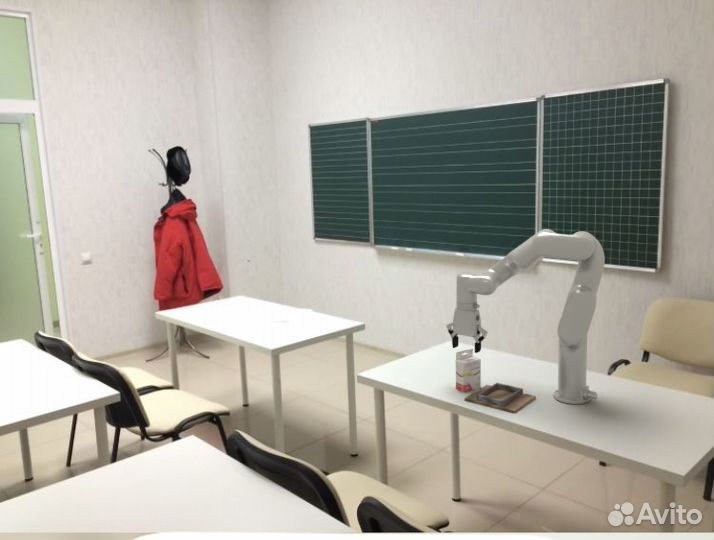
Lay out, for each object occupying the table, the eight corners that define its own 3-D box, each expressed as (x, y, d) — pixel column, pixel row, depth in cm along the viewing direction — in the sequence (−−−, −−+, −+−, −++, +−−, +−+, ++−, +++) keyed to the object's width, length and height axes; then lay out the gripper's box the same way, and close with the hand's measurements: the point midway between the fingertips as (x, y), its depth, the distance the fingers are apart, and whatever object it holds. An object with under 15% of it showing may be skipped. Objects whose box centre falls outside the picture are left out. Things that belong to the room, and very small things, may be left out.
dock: (535, 398, 221) (535, 390, 220) (514, 413, 209) (514, 405, 209) (486, 387, 234) (486, 379, 234) (464, 400, 222) (464, 392, 222)
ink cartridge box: (464, 393, 230) (463, 355, 227) (455, 389, 234) (454, 352, 231) (481, 387, 234) (481, 350, 231) (472, 384, 238) (472, 347, 235)
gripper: (492, 307, 225) (491, 351, 228) (452, 300, 236) (452, 343, 240) (481, 311, 220) (481, 356, 223) (441, 304, 231) (441, 347, 234)
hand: (466, 349), depth 231 cm, fingers open, 9 cm apart
